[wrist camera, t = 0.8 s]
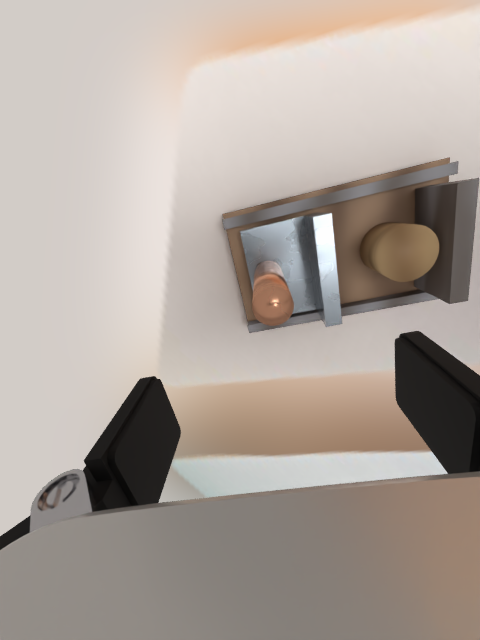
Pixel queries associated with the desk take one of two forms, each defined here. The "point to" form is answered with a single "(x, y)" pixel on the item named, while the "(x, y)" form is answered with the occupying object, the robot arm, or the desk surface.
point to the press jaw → (293, 269)
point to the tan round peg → (400, 250)
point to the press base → (362, 215)
